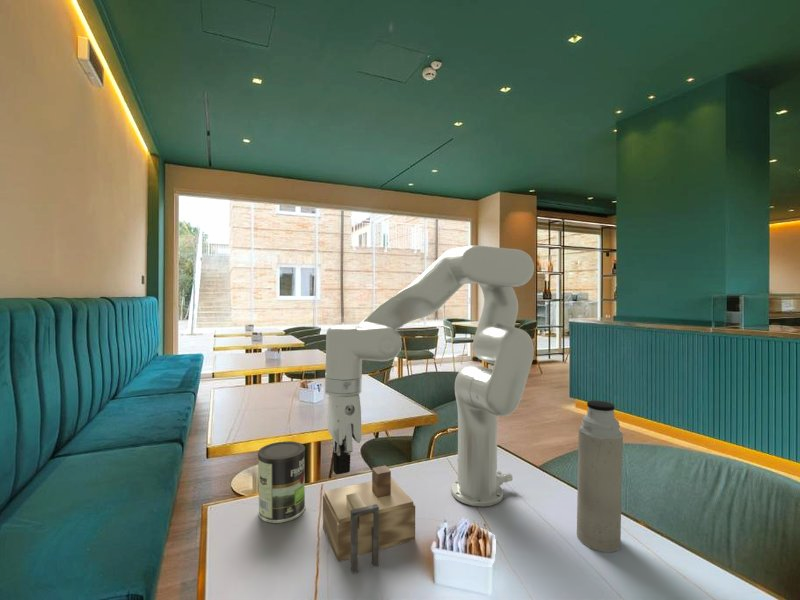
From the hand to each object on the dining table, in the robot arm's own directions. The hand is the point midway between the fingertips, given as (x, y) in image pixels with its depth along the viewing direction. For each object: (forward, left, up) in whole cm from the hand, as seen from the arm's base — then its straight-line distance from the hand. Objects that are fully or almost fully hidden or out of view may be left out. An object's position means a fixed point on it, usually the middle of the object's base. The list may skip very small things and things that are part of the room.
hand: (341, 471), depth 84 cm
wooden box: (-5, +5, -12) cm, 14 cm away
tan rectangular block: (-1, +9, -4) cm, 10 cm away
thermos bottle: (-47, +24, -13) cm, 54 cm away
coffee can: (+10, -13, -13) cm, 21 cm away
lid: (-5, +4, -6) cm, 9 cm away
